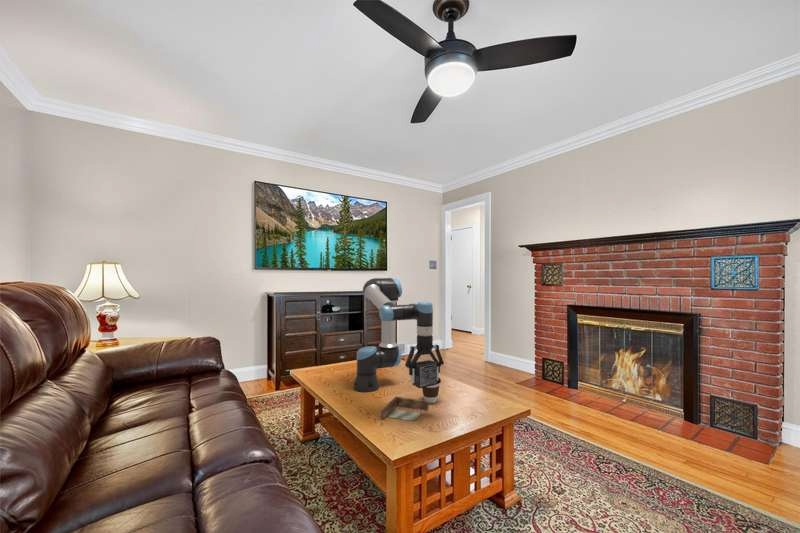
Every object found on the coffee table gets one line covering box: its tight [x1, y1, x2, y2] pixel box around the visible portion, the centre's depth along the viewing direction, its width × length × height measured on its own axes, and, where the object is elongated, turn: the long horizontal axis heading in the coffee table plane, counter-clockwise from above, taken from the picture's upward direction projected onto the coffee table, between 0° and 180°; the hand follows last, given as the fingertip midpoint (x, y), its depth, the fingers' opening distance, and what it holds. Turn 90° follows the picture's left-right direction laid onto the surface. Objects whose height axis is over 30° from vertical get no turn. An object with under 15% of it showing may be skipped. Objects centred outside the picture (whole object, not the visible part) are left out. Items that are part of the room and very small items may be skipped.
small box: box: [411, 359, 437, 389], centre depth 156 cm, size 11×6×10 cm, turn 121°
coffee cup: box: [421, 376, 442, 404], centre depth 174 cm, size 11×11×12 cm
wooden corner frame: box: [380, 396, 430, 422], centre depth 158 cm, size 18×18×4 cm
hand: (424, 380), depth 156 cm, fingers closed on small box, 11 cm apart
